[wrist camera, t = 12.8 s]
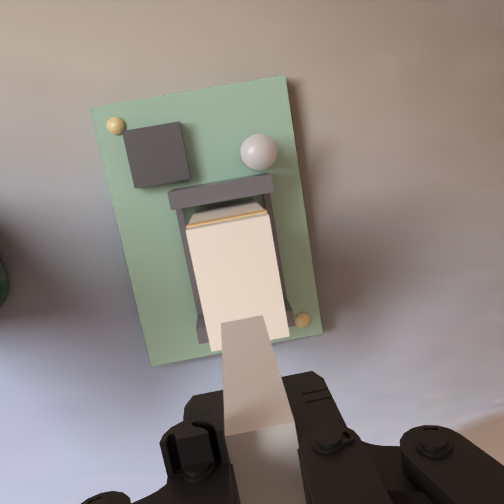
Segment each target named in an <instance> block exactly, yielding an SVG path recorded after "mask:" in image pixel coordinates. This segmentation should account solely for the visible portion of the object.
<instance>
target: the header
mask: <svg viewBox="0 0 504 504" xmlns="http://www.w3.org/2000/svg"><path fill="white" fill-rule="evenodd" d="M272 192H274V188H273V182H272V176H271V174H269V173H261V174H256V175H250V176H244V177H239V178H233V179H227V180H222V181H216V182H210V183H205V184H199V185H193V186H188V187H182V188H176V189H172V190H170V191H169V192H167V194H168V199H169V203H170V208H171V210H176V215H177V220H178V224H179V229H180V234H181V239H182V244H183V248H184V253H185V258H186V263H187V268H188V272H189V277H190V282H191V287H192V292H193V297H194V301H195V306H196V311H197V324H196V332H197V336H198V341H199V344H203V343H209V339H208V334H207V329H206V325H205V320H204V315H203V310H202V306H201V301H200V296H199V292H198V287H197V282H196V278H195V273H194V268H193V264H192V259H191V254H190V249H189V245H188V240H187V235H186V225H187V224H186V219H185V214H184V210H183V208H188V207H193V206H199V205H204V204H210V203H216V202H221V201H227V200H232V199H238V198H244V197H249V196H255V195H260V194H262V195H263V201H264V207H265V210H266V211H267V213H268V214H269V218H270V224H271V229H272V235H273V241H274V247H275V253H276V259H277V265H278V270H279V276H280V282H281V288H282V294H283V300H284V306H285V311H286V317H287V323H288V327H292V326H295V320H294V314H293V309H292V307H291V305H290V304H289V302H288V300H287V295H286V289H285V283H284V276H283V270H282V264H281V258H280V252H279V245H278V239H277V233H276V227H275V221H274V214H273V208H272V202H271V196H270V193H272Z"/></svg>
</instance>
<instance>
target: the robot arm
mask: <svg viewBox="0 0 504 504" xmlns="http://www.w3.org/2000/svg"><path fill="white" fill-rule="evenodd" d="M221 338H222V368H223V390H220V391H215V392H210V393H205V394H199V395H194V396H192V398H191V399H190V400H189V402H188V403H187V404H186V406H185V408H184V416H183V422H180V423H178V424H177V425H175V426H173V427H171V428H170V429H169V430H168V431H167V432H166V433H165V434H164V435H163V436H162V439H161V441H160V447H161V451H162V455H163V460H164V464H165V468H166V472H167V476H168V478H167V484H166V485H165V486H163V487H162V488H161V489H159V490H158V491H157V492H155V493H153V494H151V495H149V496H147V497H145V498H143V499H140V500H138V501H136V502H134V503H132V504H504V466H503V465H502V464H501V463H499V462H498V461H496V460H495V459H494V458H492V457H491V456H489V455H488V454H487V453H485V452H484V451H483V450H481V449H480V448H479V447H477V446H476V445H474V444H473V443H472V442H470V441H469V440H468V439H466V438H465V437H463V436H462V435H461V434H459V433H457V432H455V431H453V430H451V429H449V428H445V427H441V426H434V425H423V426H419V427H415V428H412V429H410V430H409V431H407V432H405V433H404V434H403V436H402V438H401V439H400V446H380V445H373V444H369V443H365V442H363V441H361V439H360V437H359V436H358V435H357V434H356V433H355V432H354V431H353V430H351V429H349V428H347V426H346V424H345V422H344V420H343V418H342V416H341V414H340V412H339V410H338V408H337V405H336V403H335V401H334V399H333V398H332V395H331V393H330V391H329V390H328V387H327V385H326V383H325V381H324V379H323V378H322V377H321V376H319V375H317V374H316V373H314V372H313V371H310V372H305V373H299V374H294V375H289V376H284V377H281V375H280V371H279V368H278V365H277V361H276V358H275V355H274V351H273V348H272V345H271V341H270V338H269V335H268V331H267V328H266V325H265V321H264V318H263V315H261V316H255V317H250V318H245V319H240V320H234V321H229V322H224V323H221ZM81 504H131V501H130V498H129V497H128V496H127V495H126V494H124V493H123V492H116V491H110V492H104V493H100V494H98V495H95V496H93V497H91V498H88V499H87V500H85V501H84V502H83V503H81Z"/></svg>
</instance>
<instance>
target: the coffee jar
mask: <svg viewBox="0 0 504 504" xmlns="http://www.w3.org/2000/svg"><path fill="white" fill-rule="evenodd" d="M8 288H9V284H8V279H7V275H6V272H5V269H4V266H3V264H2V261H1V259H0V307H1V306H2V304H3V303H4V301H5V300H6V298H7V295H8Z"/></svg>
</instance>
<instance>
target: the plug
mask: <svg viewBox="0 0 504 504" xmlns="http://www.w3.org/2000/svg"><path fill="white" fill-rule="evenodd" d="M186 235H187V240H188V245H189V249H190V254H191V259H192V264H193V268H194V273H195V278H196V282H197V287H198V292H199V296H200V301H201V306H202V310H203V315H204V320H205V325H206V329H207V334H208V339H209V343H210V348H211V352H213V351H218V350H222V338H221V323H224V322H229V321H234V320H240V319H245V318H250V317H255V316H261V315H263V318H264V321H265V325H266V328H267V331H268V335H269V338H270V340H274V339H279V338H284V337H289V336H290V335H289V329H288V323H287V317H286V311H285V306H284V300H283V294H282V288H281V282H280V276H279V270H278V265H277V259H276V253H275V247H274V241H273V235H272V229H271V224H270V218H269V214H268V213H267V211H266V210H265V209H263V208H262V207H261V206H260V205H259V204H258V203H257V202H256V201H255V200H254V199H251V200H245V201H240V202H234V203H229V204H224V205H218V206H213V207H208V208H202V209H197V210H194V213H193V215H192V217H191V219H190V222H189V224H187V225H186Z"/></svg>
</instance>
